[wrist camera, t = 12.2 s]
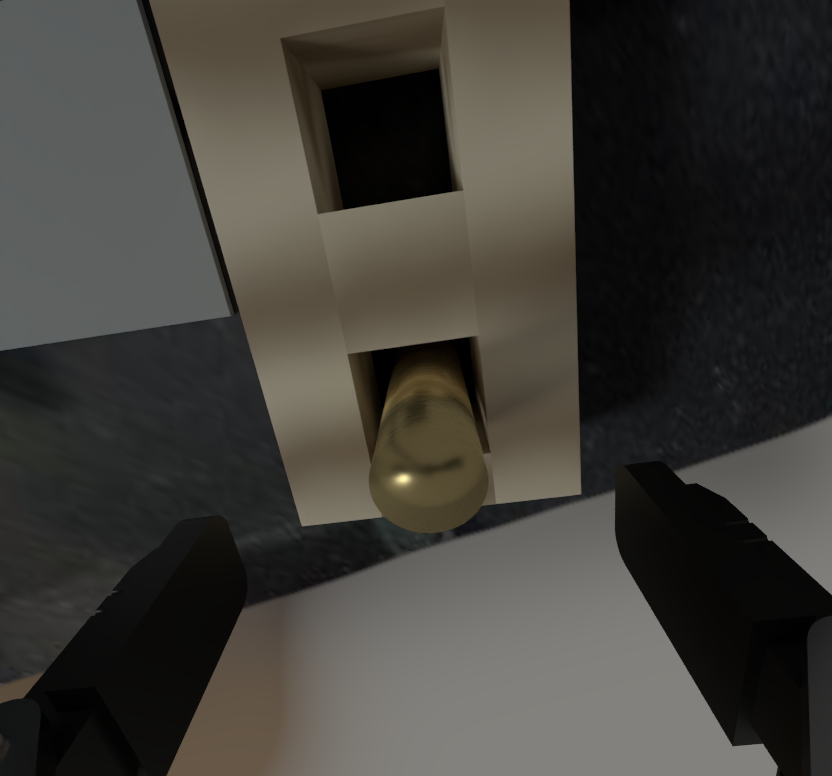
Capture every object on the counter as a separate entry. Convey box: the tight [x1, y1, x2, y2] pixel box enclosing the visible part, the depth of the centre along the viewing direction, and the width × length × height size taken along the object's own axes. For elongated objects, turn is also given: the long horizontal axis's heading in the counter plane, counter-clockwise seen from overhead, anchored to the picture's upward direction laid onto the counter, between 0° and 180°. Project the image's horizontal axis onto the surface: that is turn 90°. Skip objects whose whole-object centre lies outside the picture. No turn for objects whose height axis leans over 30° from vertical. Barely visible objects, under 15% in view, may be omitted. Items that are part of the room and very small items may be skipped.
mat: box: [0, 0, 234, 351], centre depth 18 cm, size 12×12×1 cm
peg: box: [369, 340, 489, 533], centre depth 16 cm, size 3×3×10 cm
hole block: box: [149, 0, 581, 526], centre depth 16 cm, size 18×11×5 cm, turn 9°
